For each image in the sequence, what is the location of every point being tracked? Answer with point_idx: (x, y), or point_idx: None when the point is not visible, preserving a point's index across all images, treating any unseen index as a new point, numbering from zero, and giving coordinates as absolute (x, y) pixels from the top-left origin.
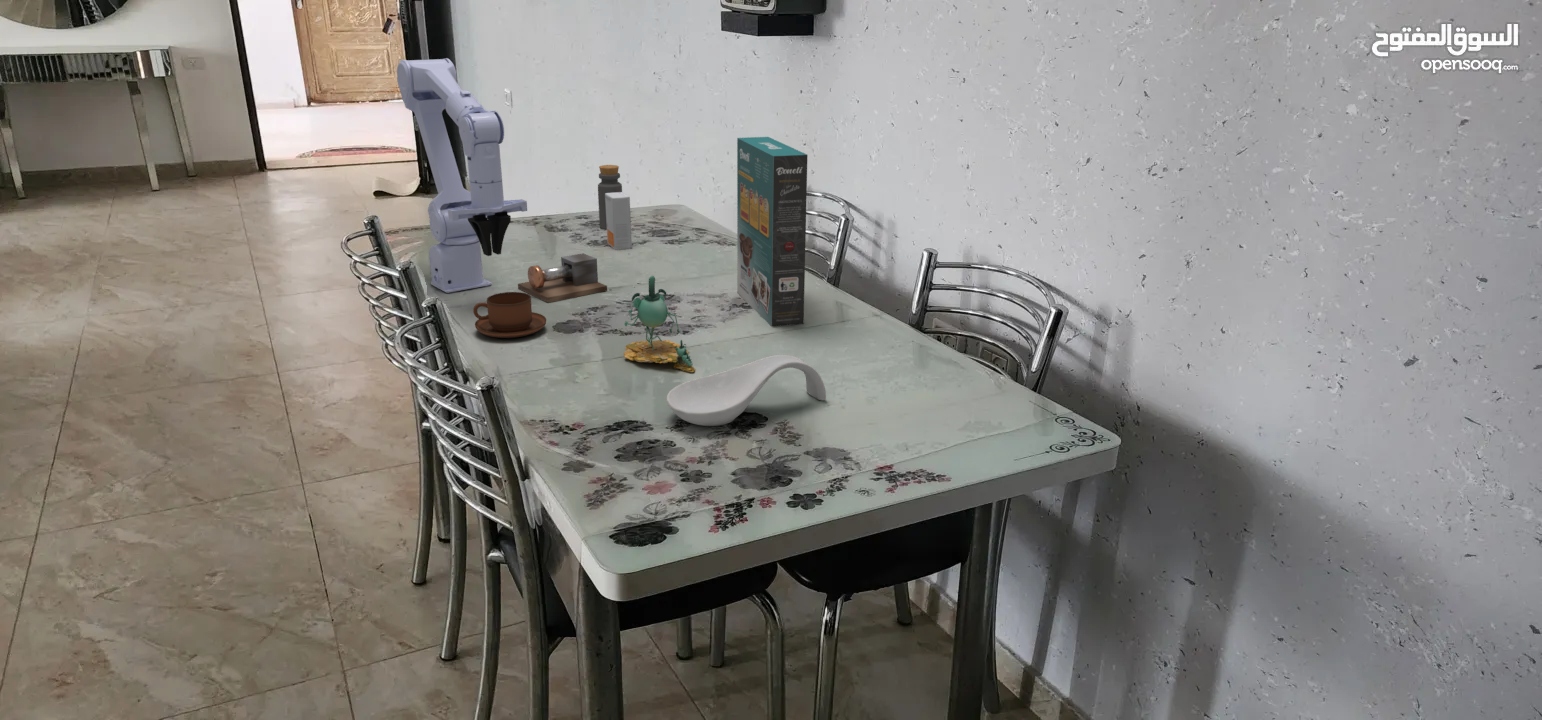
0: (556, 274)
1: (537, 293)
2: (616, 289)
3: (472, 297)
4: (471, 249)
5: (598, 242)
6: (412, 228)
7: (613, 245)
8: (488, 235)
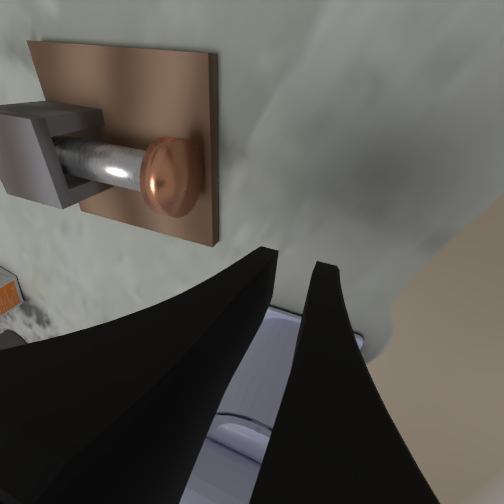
0: (116, 147)
1: (211, 133)
2: (19, 36)
3: (342, 273)
4: (256, 401)
5: (36, 316)
6: None
7: (11, 283)
8: (321, 361)
